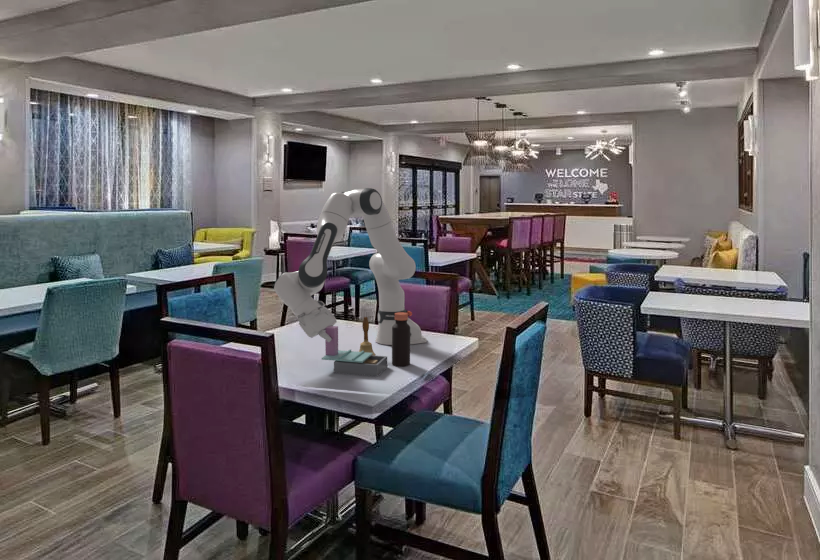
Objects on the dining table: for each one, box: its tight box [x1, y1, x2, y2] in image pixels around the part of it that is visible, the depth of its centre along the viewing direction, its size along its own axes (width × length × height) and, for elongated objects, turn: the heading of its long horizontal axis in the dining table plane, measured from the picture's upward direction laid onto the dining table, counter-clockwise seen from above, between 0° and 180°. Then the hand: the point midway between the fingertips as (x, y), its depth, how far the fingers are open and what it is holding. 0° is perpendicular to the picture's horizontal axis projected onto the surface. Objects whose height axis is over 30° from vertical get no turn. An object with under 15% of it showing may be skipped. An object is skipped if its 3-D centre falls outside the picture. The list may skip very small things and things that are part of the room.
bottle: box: [391, 312, 411, 368], centre depth 214 cm, size 7×7×20 cm
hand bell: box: [358, 316, 377, 356], centre depth 227 cm, size 8×8×16 cm
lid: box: [321, 325, 373, 363], centre depth 207 cm, size 15×12×11 cm
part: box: [364, 359, 378, 364], centre depth 208 cm, size 4×4×3 cm
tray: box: [333, 355, 388, 378], centre depth 207 cm, size 16×12×5 cm
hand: (333, 339), depth 208 cm, fingers closed on lid, 3 cm apart
